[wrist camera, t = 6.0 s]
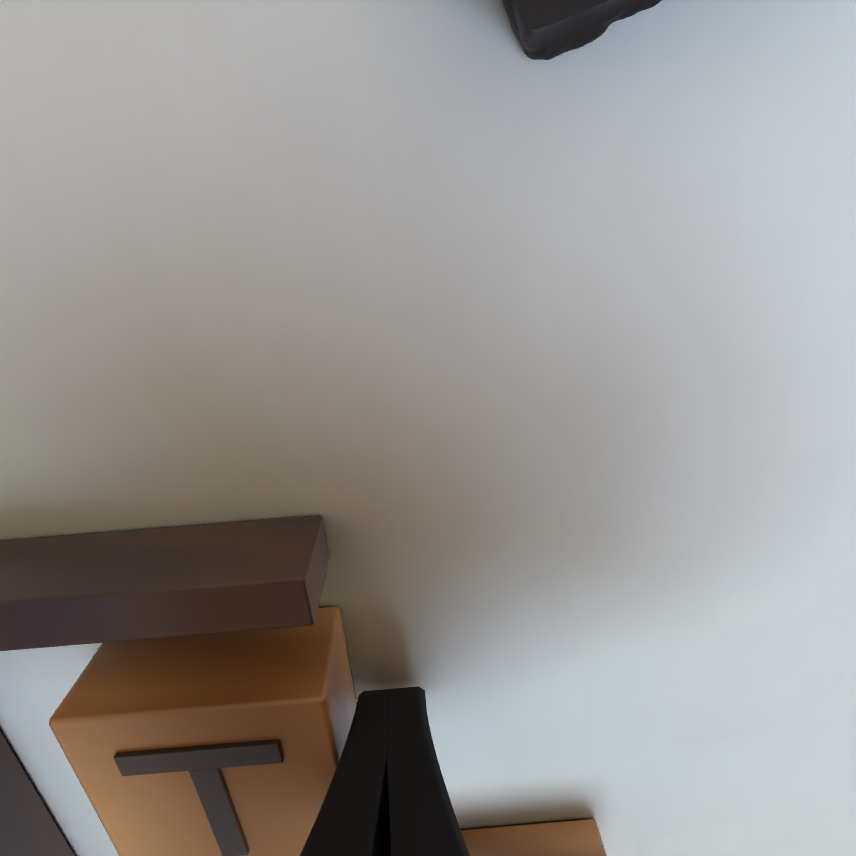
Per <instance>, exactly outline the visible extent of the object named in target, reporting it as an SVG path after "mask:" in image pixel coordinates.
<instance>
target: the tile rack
mask: <svg viewBox="0 0 856 856" xmlns="http://www.w3.org/2000/svg"><path fill="white" fill-rule="evenodd" d="M328 561H329V551H328V545H327V540H326V534H325V529H324V523H323V518H322V516H320V515H318V516H305V517H293V518H280V519H268V520H255V521H243V522H230V523H217V524H205V525H192V526H180V527H167V528H155V529H142V530H130V531H117V532H105V533H92V534H80V535H67V536H55V537H42V538H30V539H17V540H4V541H0V651H6V650H18V649H30V648H43V647H55V646H67V645H79V644H92V643H104V642H116V641H128V640H140V639H153V638H165V637H177V636H189V635H202V634H214V633H226V632H238V631H250V630H263V629H275V628H287V627H299V626H312V625H314V624H315V621H316V617H317V612H318V607H319V603H320V598H321V593H322V589H323V584H324V580H325V575H326V570H327V566H328ZM0 856H75V855H74V854H73V852H72V850H71V849H70V847H69V845H68V844H67V842H66V840H65V839H64V837H63V835H62V834H61V832H60V830H59V829H58V827H57V825H56V824H55V822H54V820H53V819H52V817H51V815H50V814H49V812H48V810H47V808H46V807H45V805H44V803H43V802H42V800H41V798H40V797H39V795H38V793H37V792H36V790H35V788H34V787H33V785H32V783H31V782H30V780H29V778H28V777H27V775H26V773H25V772H24V770H23V768H22V767H21V765H20V763H19V762H18V760H17V758H16V757H15V755H14V753H13V752H12V750H11V748H10V747H9V745H8V743H7V742H6V740H5V738H4V737H3V735H2V733H1V732H0Z"/></svg>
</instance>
